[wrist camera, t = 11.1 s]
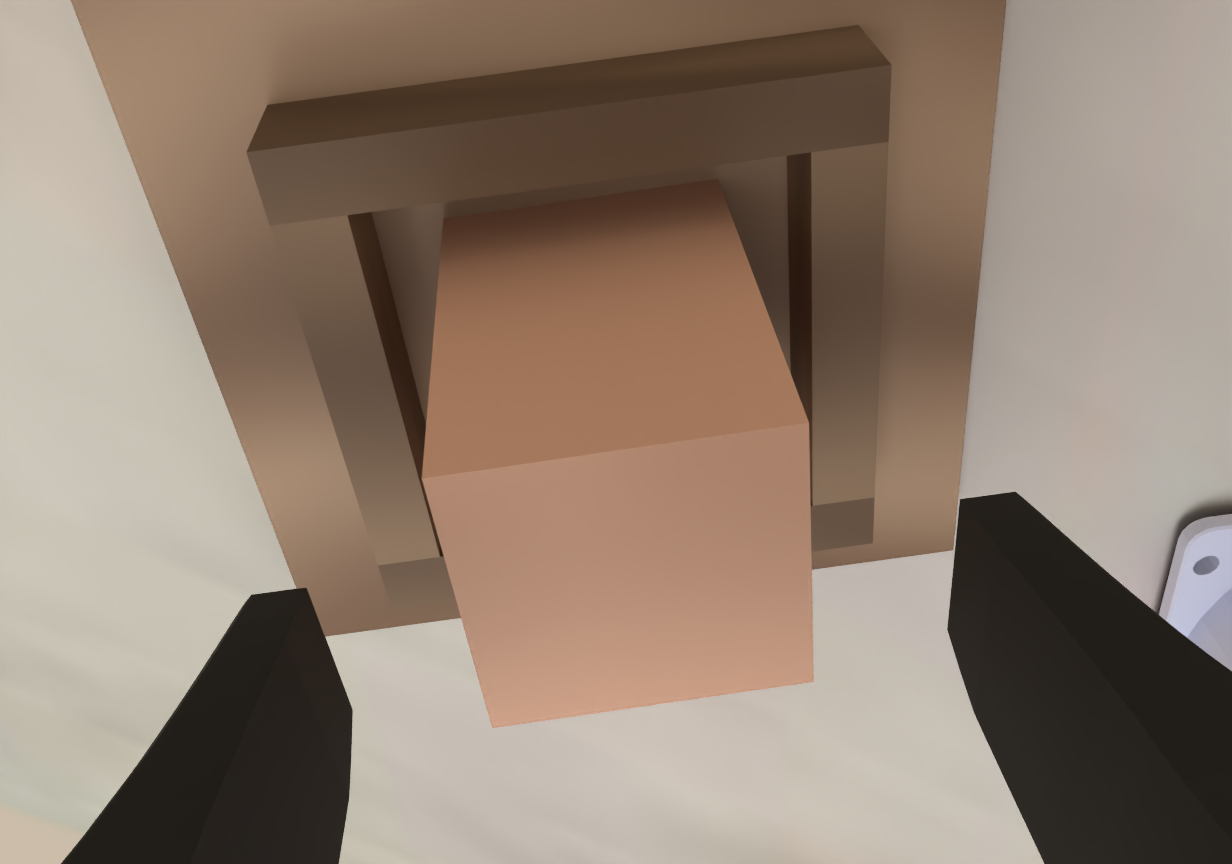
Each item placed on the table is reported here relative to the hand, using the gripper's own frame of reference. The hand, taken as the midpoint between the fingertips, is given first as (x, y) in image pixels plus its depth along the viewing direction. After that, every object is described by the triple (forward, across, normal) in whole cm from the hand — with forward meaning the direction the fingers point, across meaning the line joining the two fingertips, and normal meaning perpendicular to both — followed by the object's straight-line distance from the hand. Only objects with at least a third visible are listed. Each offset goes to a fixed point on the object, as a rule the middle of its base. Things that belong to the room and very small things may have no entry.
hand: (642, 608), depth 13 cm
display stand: (+7, 0, 0) cm, 7 cm away
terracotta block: (+6, 0, 0) cm, 6 cm away
